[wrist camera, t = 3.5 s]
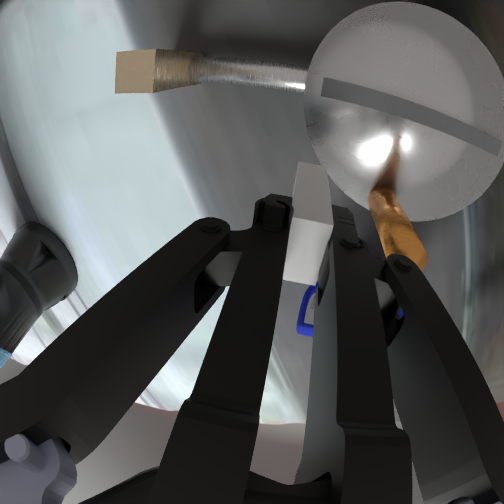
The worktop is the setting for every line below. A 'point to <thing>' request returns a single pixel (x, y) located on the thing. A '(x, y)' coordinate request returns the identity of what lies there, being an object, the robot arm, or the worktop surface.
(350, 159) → the handwheel
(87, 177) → the worktop surface
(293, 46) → the worktop surface
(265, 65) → the hook rod
